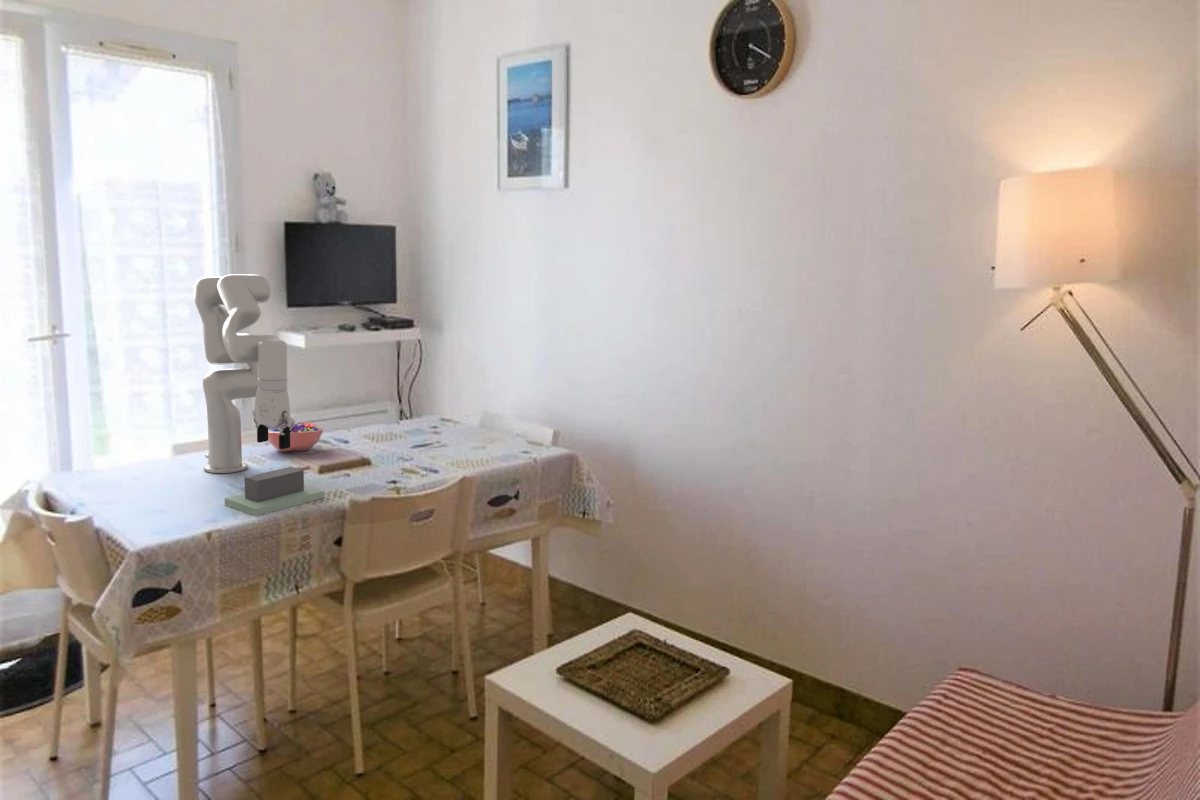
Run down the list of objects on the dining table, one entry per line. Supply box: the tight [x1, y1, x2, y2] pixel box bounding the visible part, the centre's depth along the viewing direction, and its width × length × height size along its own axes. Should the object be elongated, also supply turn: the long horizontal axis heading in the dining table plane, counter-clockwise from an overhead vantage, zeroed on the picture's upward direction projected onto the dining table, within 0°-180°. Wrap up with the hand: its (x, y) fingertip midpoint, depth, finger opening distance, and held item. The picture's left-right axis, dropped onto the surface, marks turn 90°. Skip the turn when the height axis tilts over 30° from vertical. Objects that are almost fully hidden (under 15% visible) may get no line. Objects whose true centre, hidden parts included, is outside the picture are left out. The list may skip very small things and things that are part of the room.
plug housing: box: [244, 465, 311, 502], centre depth 240 cm, size 6×19×6 cm, turn 146°
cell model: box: [266, 421, 324, 452], centre depth 293 cm, size 17×20×11 cm
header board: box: [224, 484, 325, 517], centre depth 239 cm, size 14×22×6 cm, turn 146°
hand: (273, 444), depth 236 cm, fingers open, 9 cm apart
